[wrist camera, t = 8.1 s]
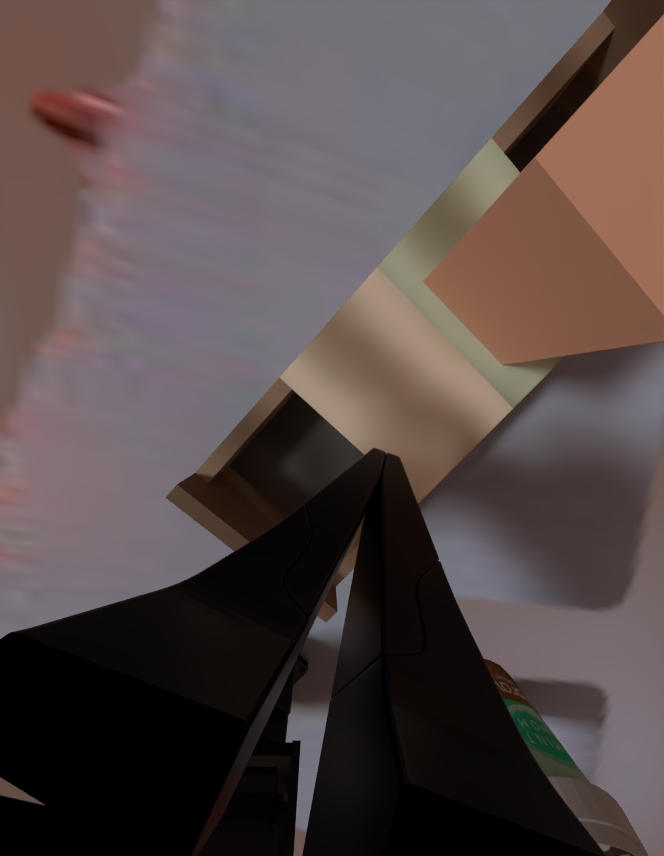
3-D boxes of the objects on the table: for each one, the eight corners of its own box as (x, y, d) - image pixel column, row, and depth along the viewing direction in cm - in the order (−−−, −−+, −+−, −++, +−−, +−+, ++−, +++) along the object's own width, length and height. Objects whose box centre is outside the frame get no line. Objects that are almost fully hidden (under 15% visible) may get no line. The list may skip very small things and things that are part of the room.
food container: (548, 659, 24) (709, 849, 14) (526, 713, 25) (662, 929, 15) (422, 635, 23) (498, 820, 13) (403, 692, 24) (461, 907, 14)
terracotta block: (501, 364, 16) (682, 338, 8) (422, 281, 15) (535, 157, 7) (587, 275, 15) (875, 150, 7) (510, 183, 14) (741, -72, 6)
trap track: (325, 558, 22) (326, 622, 16) (212, 466, 20) (165, 497, 14) (654, 222, 19) (809, 143, 13) (550, 85, 17) (669, -75, 11)
